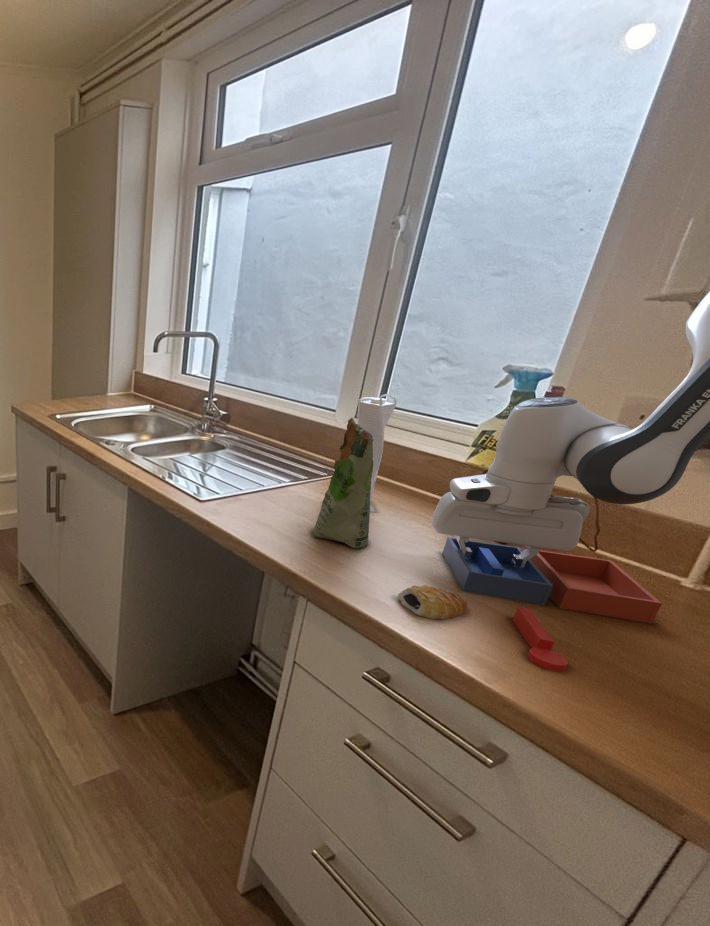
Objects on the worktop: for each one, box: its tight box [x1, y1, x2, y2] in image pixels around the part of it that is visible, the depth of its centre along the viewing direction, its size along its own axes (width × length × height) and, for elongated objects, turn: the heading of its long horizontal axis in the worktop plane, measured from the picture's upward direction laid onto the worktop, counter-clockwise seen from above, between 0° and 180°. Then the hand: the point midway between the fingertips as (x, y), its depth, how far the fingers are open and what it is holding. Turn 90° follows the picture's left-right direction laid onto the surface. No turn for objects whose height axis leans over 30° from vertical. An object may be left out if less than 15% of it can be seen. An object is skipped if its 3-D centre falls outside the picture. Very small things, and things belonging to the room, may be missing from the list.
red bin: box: [530, 549, 663, 624], centre depth 90 cm, size 11×15×4 cm
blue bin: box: [441, 536, 553, 606], centre depth 95 cm, size 11×15×4 cm
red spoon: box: [512, 606, 569, 672], centre depth 77 cm, size 4×13×3 cm, turn 156°
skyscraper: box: [357, 393, 397, 513], centre depth 122 cm, size 8×8×28 cm
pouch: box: [312, 417, 374, 550], centre depth 107 cm, size 11×12×25 cm
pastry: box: [397, 584, 468, 620], centre depth 86 cm, size 9×7×4 cm
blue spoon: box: [474, 547, 504, 576], centre depth 95 cm, size 4×13×3 cm, turn 155°
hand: (489, 561), depth 96 cm, fingers open, 6 cm apart
